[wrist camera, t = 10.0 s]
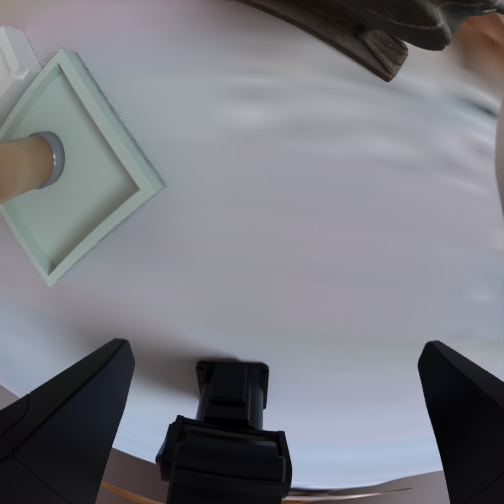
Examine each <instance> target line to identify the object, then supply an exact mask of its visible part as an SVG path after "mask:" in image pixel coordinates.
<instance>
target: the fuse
mask: <svg viewBox="0 0 504 504" xmlns="http://www.w3.org/2000/svg"><path fill="white" fill-rule="evenodd" d="M64 164H65V152H64V147H63V144H62V142H61V140H60V139H59V137H58V136H57V135H56V134H55V133H53V132H50V131H43V132H37V133H33V134H31V135H29V136H28V137H24V138H19V139H14V140H10V141H5V142H1V143H0V204H2V203H4V202H6V201H8V200H11V199H13V198H15V197H17V196H19V195H22V194H24V193H26V192H29V191H31V190H33V189H42V188H45V187H47V186H49V185H52V184H54V183H55V182H56V181H57V180H58V179H59V178H60V176H61V174H62V172H63V169H64Z"/></svg>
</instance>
